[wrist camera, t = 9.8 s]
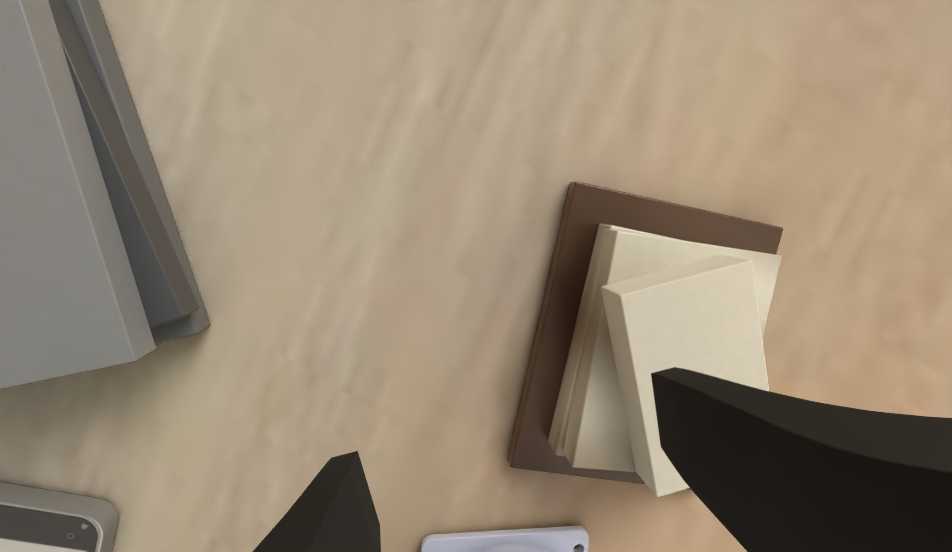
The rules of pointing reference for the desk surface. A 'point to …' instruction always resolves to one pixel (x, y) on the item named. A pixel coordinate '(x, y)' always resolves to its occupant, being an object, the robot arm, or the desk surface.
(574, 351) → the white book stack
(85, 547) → the smartphone
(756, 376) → the cream rectangular block
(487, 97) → the desk surface
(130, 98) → the grey book stack
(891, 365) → the desk surface
